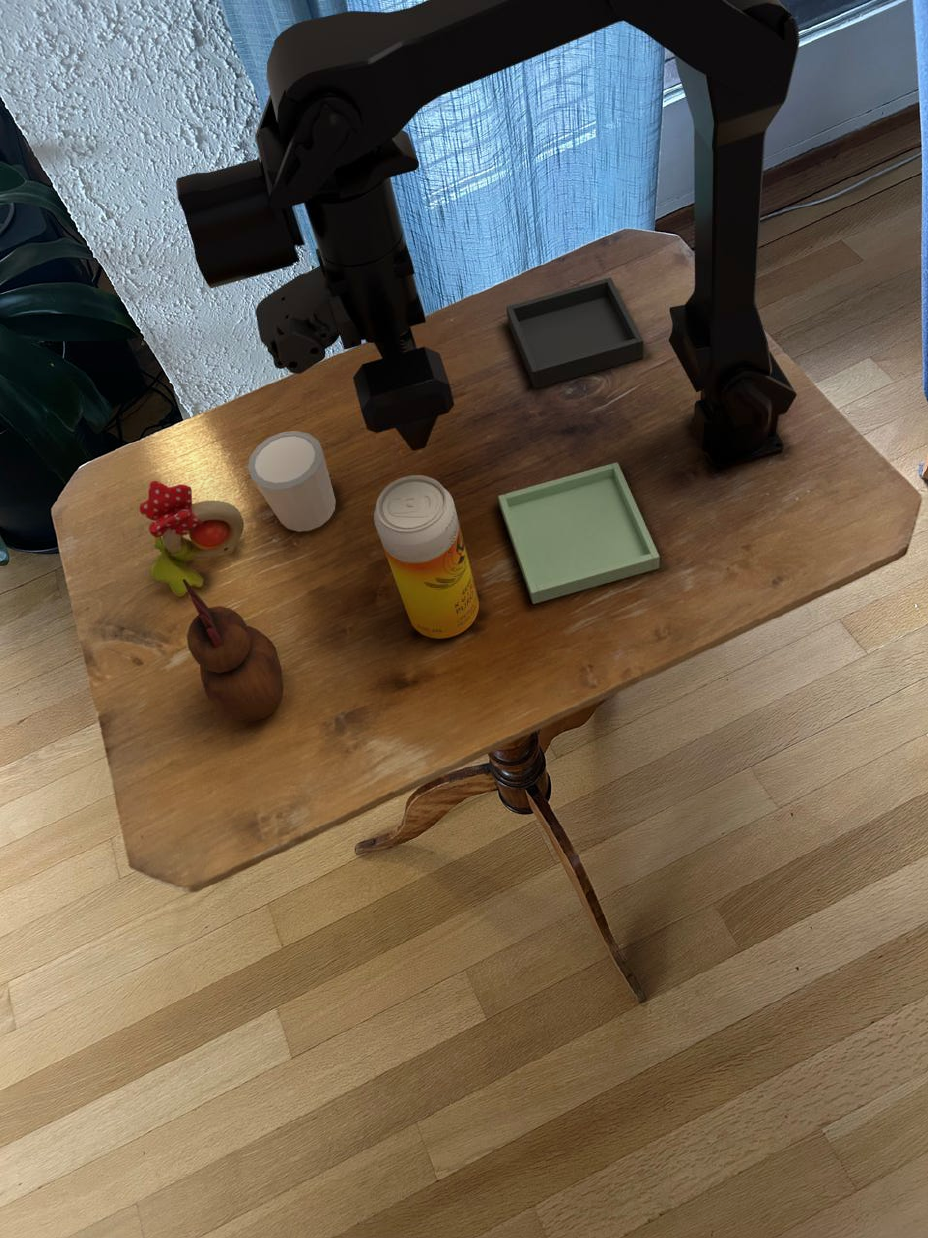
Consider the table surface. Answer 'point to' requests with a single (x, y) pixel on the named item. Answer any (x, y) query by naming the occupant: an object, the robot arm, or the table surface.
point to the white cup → (294, 479)
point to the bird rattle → (188, 532)
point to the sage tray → (577, 533)
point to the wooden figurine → (234, 662)
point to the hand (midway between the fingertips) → (406, 407)
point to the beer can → (427, 555)
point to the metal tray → (574, 332)
